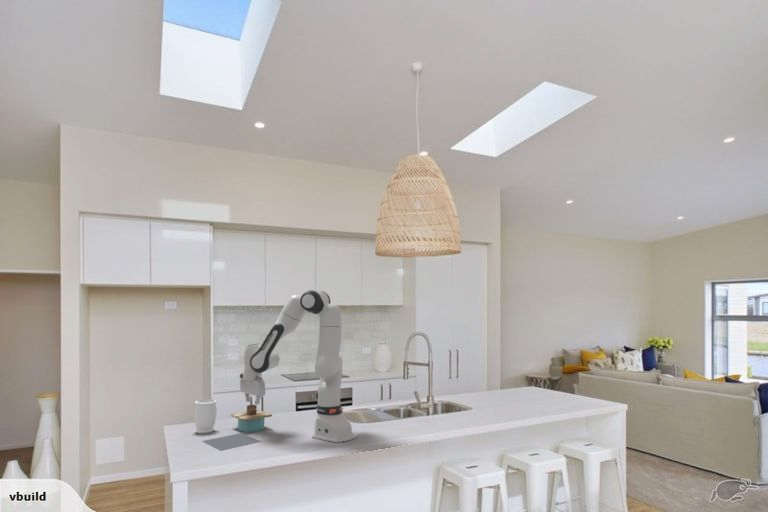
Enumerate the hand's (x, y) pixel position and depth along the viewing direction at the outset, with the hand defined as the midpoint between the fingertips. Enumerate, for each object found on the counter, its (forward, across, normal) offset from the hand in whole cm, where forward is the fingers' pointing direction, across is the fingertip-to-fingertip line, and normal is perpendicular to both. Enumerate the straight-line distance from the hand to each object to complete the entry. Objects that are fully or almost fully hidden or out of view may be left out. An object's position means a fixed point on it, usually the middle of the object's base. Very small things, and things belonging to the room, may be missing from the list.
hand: (252, 402), depth 248 cm
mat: (+13, -14, +18) cm, 27 cm away
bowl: (+13, +1, 0) cm, 13 cm away
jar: (+13, +13, +19) cm, 26 cm away
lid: (+7, 0, 0) cm, 7 cm away
